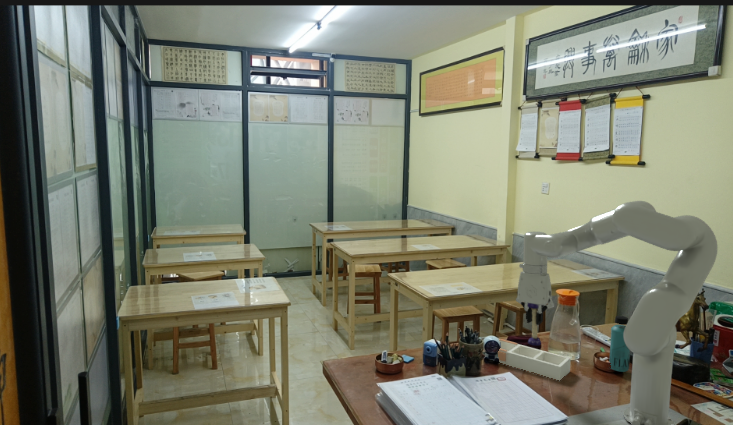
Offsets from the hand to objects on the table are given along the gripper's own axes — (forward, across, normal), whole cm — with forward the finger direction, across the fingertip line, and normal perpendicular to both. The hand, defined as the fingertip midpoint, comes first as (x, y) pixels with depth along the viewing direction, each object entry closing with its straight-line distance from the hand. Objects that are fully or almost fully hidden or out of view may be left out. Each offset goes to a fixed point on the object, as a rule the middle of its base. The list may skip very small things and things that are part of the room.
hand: (534, 322), depth 160 cm
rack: (+20, -7, +10) cm, 23 cm away
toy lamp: (+7, 0, 0) cm, 7 cm away
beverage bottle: (+21, +20, +26) cm, 39 cm away
